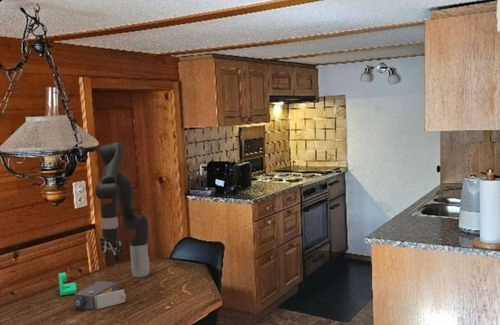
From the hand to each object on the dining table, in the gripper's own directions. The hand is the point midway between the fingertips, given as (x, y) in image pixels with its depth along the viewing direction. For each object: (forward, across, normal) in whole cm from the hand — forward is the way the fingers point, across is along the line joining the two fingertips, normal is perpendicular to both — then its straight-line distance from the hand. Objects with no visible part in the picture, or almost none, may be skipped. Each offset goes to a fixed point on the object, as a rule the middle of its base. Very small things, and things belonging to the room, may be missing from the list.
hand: (112, 261), depth 231 cm
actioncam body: (+20, -7, -6) cm, 22 cm away
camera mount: (+20, -32, -5) cm, 38 cm away
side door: (+19, +3, -4) cm, 20 cm away
